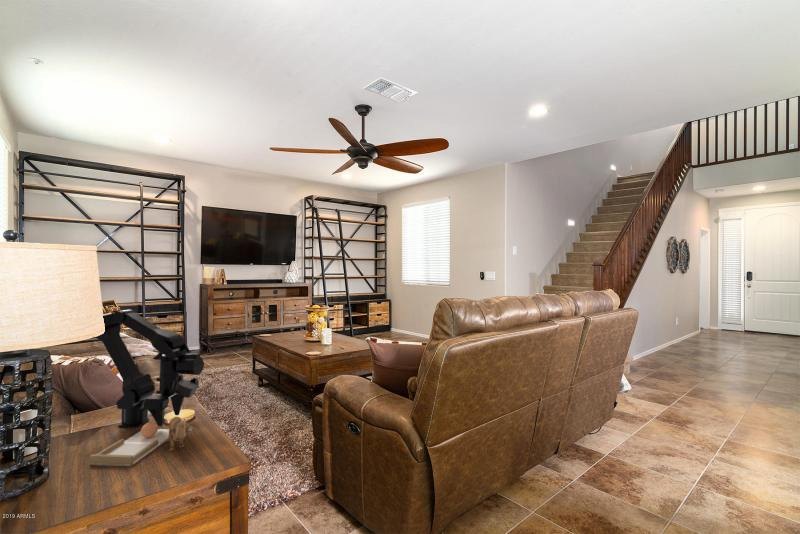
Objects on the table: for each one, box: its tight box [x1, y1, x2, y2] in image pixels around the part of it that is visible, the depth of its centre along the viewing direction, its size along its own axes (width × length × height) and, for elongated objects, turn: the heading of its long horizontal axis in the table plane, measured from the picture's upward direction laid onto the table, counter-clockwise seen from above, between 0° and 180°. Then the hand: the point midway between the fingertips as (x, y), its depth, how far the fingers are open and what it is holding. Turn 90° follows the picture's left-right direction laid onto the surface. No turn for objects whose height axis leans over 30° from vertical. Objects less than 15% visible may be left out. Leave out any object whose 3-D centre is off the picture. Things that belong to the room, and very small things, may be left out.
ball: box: [140, 421, 159, 438], centre depth 121 cm, size 4×4×4 cm
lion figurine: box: [166, 416, 194, 452], centre depth 118 cm, size 15×5×9 cm, turn 44°
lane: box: [89, 428, 169, 467], centre depth 116 cm, size 11×22×2 cm, turn 179°
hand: (169, 420), depth 131 cm, fingers open, 9 cm apart
